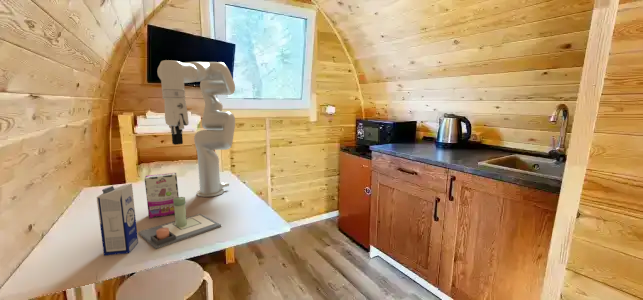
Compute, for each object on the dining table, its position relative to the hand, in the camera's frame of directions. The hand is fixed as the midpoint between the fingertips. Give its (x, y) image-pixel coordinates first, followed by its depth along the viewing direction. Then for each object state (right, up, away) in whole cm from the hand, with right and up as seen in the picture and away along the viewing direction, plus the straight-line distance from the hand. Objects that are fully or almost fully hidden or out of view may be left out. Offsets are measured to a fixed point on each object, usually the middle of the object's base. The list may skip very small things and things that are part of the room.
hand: (177, 144), depth 111 cm
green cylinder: (+4, -30, -6) cm, 30 cm away
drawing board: (+5, -31, -8) cm, 32 cm away
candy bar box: (-9, -29, +7) cm, 31 cm away
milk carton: (-7, -33, -21) cm, 40 cm away
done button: (+3, -31, -16) cm, 35 cm away
